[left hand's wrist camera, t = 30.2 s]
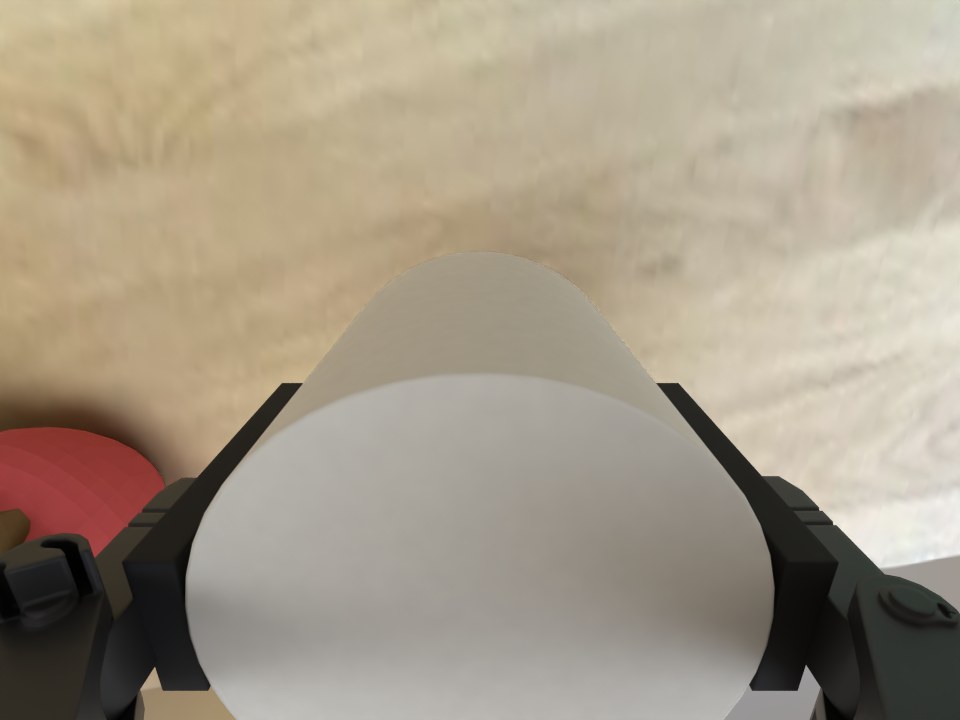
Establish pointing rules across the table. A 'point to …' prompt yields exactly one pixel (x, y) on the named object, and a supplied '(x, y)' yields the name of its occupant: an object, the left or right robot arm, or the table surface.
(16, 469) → the toy
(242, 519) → the canister
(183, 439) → the table surface
